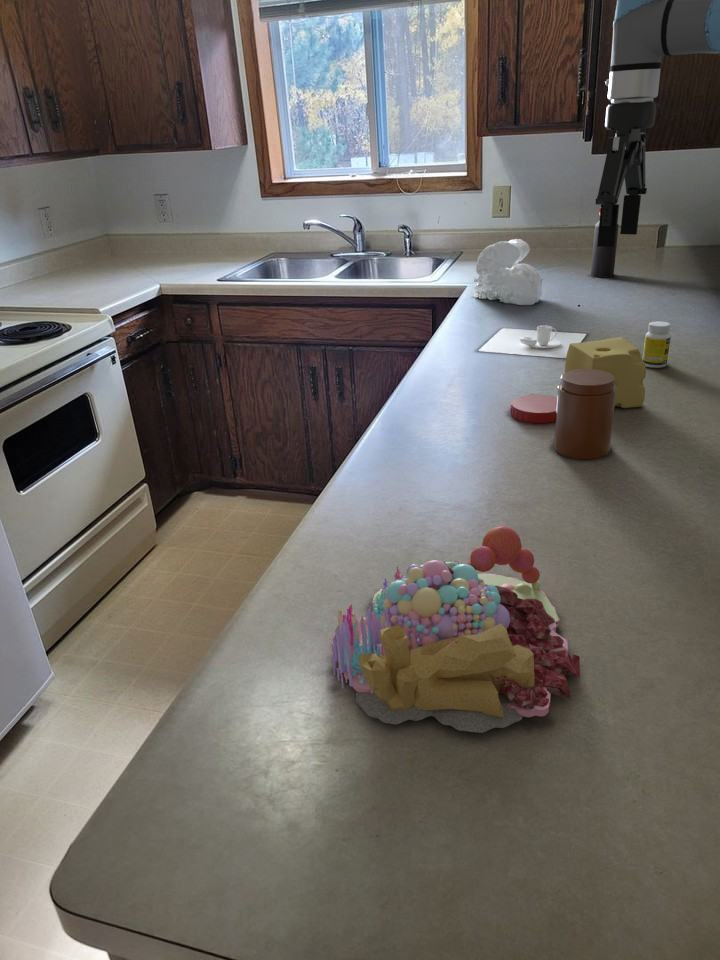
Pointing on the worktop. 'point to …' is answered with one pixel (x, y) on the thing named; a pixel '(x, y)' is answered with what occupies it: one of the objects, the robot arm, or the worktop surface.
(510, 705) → the pastel sphere sculpture
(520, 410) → the lid
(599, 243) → the robot arm
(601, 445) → the jam jar
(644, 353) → the supplement bottle
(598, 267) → the vinegar
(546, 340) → the teacup and saucer
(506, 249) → the white plaster sculpture
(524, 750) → the worktop surface
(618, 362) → the cheese
